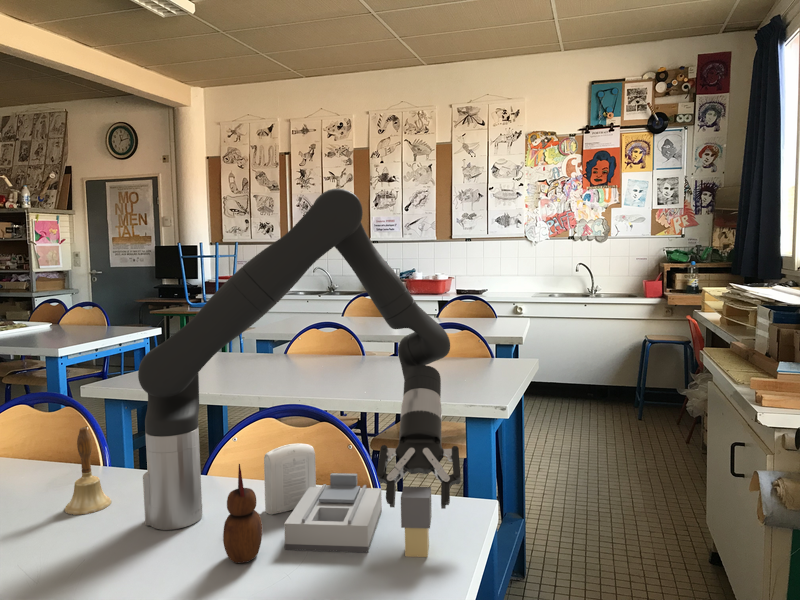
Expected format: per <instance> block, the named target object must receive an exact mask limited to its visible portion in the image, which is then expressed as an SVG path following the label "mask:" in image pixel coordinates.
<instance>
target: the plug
mask: <svg viewBox="0 0 800 600" xmlns="http://www.w3.org/2000/svg"><path fill="white" fill-rule="evenodd" d="M431 523H432V487H431V486H407V485H406V486H405V485H404V486H403V487H402V491H401V494H400V524H401V525H400V527H401V528H402V529H403V528H404V554H405V555H404V556H405V557H411V558H412V557H413V558H428V557H429V551H430V550H429V549H430V536H429V534H430V533H429V531H430V529H431Z"/></svg>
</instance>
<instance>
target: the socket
mask: <svg viewBox="0 0 800 600" xmlns="http://www.w3.org/2000/svg"><path fill="white" fill-rule="evenodd" d="M326 486H327V484H326V483H325V484H324V483H323V484H322V486H316V487H309V488H308V489H307V491H306V492H305V494H304V495H303V497H302V498H301V500H300V501H299V503H298V504H297V506H296V507H295V509H293V510H292V512H291V513H290V515H289V516H288V517H287V519H286V520H285V522H284V523H283V525H284V548H285V549H284V550H285V551H309V552H310V551H312V552H314V551H315V552H319V551H320V552H343V553H367V554H368V553H369V551H370V548H371V545H372V542H373V539H374V536H375V534H376V530H377V527H378V524H379V521H380V518H381V515H382V512H383V510H382V507H383V505H382V504H383V502H382V488H380V487H379V488H377V487H376V488H375V487H367V484H363V485H362V487H360V491H359V493H358V495H357V497H356V500H355V502H354V503H334V502H319V497H320V496H321V494H322V493H323V491H324V489H325V488H326Z"/></svg>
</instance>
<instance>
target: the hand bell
mask: <svg viewBox="0 0 800 600" xmlns="http://www.w3.org/2000/svg"><path fill="white" fill-rule="evenodd" d="M76 446H77V451H78V455H79V456H80V461H81V477H79V478H77V479H76V480H75V482H74V486H73V493H72V497H71V499H70V501H69V502H68V503H67V504H66V505H65V508H64V512H65V513H66V514H68V515H72V514H73V516H74V515H75V516H77V515H78V516H79V515H82V514H83V515H88V514H89V513H90V514H93V513H97V512H100V511H102V510H104V509H107V507H110V505H111V504H112V499H111V498H110V497H109V496H107V495H106V494H105V492H104V491H103V488H102V485H101V479H100V478H99V476H95V475H93V473H92V466H91V455H92V450H93V441H92V437H91V434H90V432H89V430H88V427H86V426H85V427H80V428H79V431H78V435H77V440H76Z"/></svg>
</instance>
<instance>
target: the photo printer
mask: <svg viewBox="0 0 800 600" xmlns="http://www.w3.org/2000/svg"><path fill="white" fill-rule="evenodd" d="M263 464H264V465H263V470H264V471H263V472H264V474H263V475H264V476H263V477H264V505H265V506H264V507H265V509H264V510H265V512H266V514H269V515H275V514H276V515H277V514H281V513H285V512H289V511H293V510H294V509H295V507H296V506H297V504H298V503H299V501H300V500H301V498H302V497H303V495H304V494H305V492H306V491H307V489H308V488H309V487H317V482H316V481H317V480H316V479H317V477H316V476H317V475H316V473H317V471H316V467H317V466H316V452H315V448H314V447H313V446H312V445H311V444H307V443H301V442H300V443H289V444H285V445H281V446H279V447H276V448H273V449H272V450H270V451H268V452H266V453H265V454H264V457H263Z"/></svg>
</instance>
